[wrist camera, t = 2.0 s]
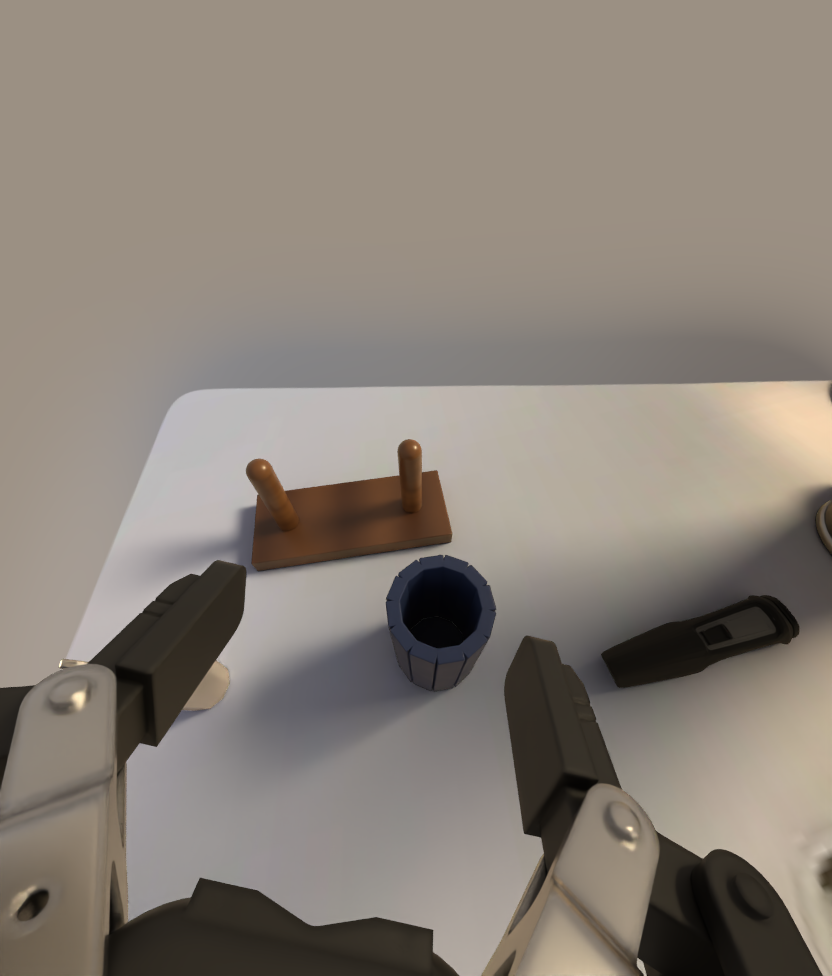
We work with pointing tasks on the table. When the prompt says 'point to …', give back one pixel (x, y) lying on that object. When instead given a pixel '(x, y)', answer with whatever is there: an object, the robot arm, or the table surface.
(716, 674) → the table surface
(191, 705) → the milkshake
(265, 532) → the rack
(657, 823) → the table surface
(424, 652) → the navy ribbed cylinder
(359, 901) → the table surface
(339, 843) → the table surface
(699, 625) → the electric trimmer
